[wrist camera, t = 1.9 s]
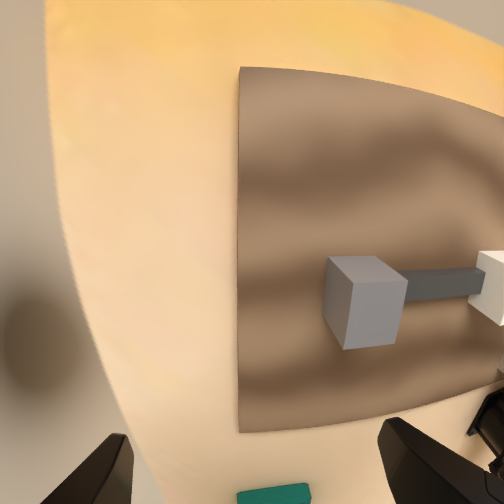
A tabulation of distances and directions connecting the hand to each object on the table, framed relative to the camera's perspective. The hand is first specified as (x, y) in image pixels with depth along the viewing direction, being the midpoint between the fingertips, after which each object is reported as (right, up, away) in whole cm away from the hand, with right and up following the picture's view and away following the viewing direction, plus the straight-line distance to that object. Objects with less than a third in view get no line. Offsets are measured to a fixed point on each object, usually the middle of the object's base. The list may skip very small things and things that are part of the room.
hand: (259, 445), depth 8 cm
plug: (+13, +3, +12) cm, 18 cm away
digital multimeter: (+3, -25, +21) cm, 33 cm away
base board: (+27, +4, +14) cm, 31 cm away
